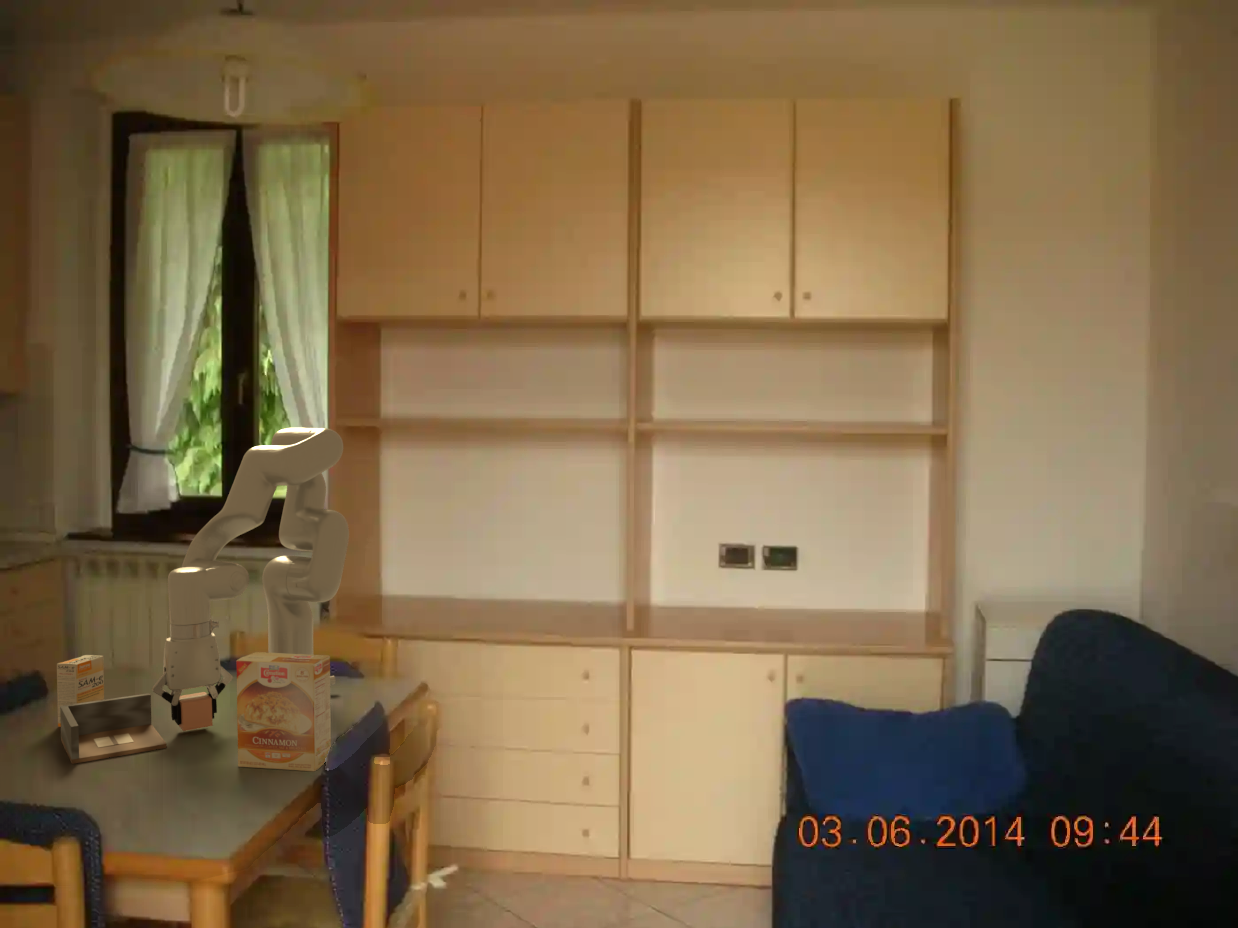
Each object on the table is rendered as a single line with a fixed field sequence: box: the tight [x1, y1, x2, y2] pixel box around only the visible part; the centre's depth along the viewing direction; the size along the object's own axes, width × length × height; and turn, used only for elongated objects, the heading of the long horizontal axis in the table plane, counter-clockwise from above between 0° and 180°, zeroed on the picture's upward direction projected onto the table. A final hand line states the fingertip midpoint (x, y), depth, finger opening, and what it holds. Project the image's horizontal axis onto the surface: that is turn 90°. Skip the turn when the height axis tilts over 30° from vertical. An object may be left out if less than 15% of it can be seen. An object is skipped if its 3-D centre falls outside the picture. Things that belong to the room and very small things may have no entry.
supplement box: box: [56, 654, 105, 728], centre depth 213 cm, size 8×5×13 cm, turn 168°
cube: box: [178, 691, 214, 732], centre depth 206 cm, size 6×6×6 cm
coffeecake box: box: [235, 651, 332, 772], centre depth 188 cm, size 15×7×20 cm, turn 80°
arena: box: [60, 693, 168, 765], centre depth 199 cm, size 16×16×7 cm
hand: (194, 719), depth 207 cm, fingers closed on cube, 5 cm apart
